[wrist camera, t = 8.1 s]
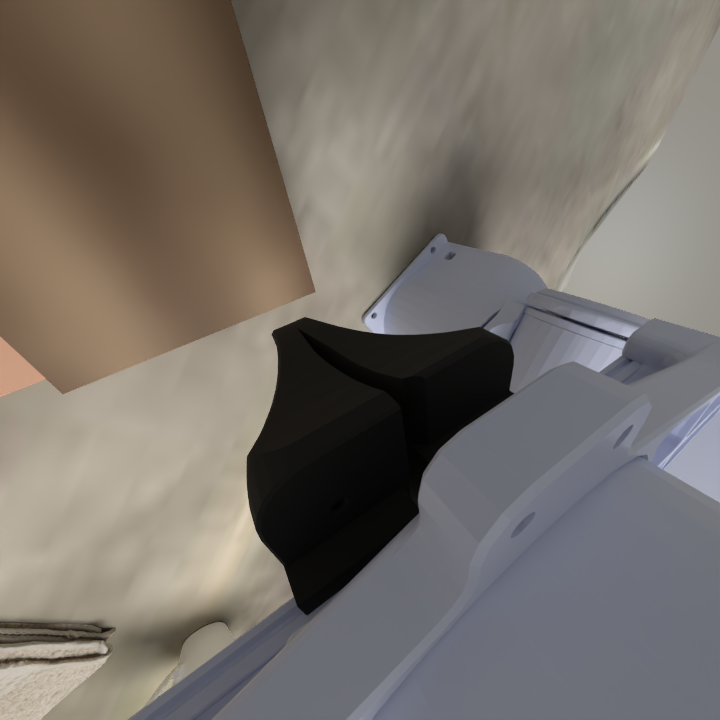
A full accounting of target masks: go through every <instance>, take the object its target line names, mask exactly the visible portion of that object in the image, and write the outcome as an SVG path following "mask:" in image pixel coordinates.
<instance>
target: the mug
mask: <svg viewBox="0 0 720 720" xmlns="http://www.w3.org/2000/svg"><path fill="white" fill-rule="evenodd" d="M234 641H235V638H234V637H233V635H232V634H231V632H230V630H229V629H228V627H227V626H226V624H225V623H223V622H216V623H212V624H209V625H206V626H204V627H202V628H200V629H199V630H197V631H196V632H194V633H193V634H192V635H191V636H189V637H188V638H187V639H186V641H185V642H184V644H183V646H182V650H181V654H180V658H179V662H178V666H176V667H175V668H174V669H173V670H172V671H171V673H170V674H169V675H168V676H167V677H166V678H165V680H164V681H163V682H162V683H161V685H160V686H159V687H158V689H157V690H156V691H155V692H154V694H153V695H152V696H151V698H150V699H149V701H148V702H147V703H146V705H145V706H147V705H148V704H149V703H151V702H152V701H154V700H155V699H156V698H158V697H159V696H160V694H161V693H162V691H163V690H164V688H165V687H166V686H167V684H168V683H169V681H170V680H171V679H174V681H173V685H172V687H173V686H174V685H175V684H177V683H178V682H179V681H181V680H182V679H183V678H185V677H186V676H187V675H189V674H190V673H192V672H193V671H194V670H196V669H197V668H198V667H200V666H201V665H202V664H204V663H205V662H206V661H208V660H209V659H211V658H212V657H213V656H215V655H216V654H217V653H219V652H220V651H221V650H223V649H224V648H225V647H227V646H228V645H230V644H231V643H232V642H234ZM145 706H144V707H145Z"/></svg>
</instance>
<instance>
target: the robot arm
mask: <svg viewBox="0 0 720 720" xmlns="http://www.w3.org/2000/svg"><path fill="white" fill-rule="evenodd" d="M431 248H432V251H431ZM545 310H546V311H545ZM548 311H549V312H548ZM373 313H374V315H373V316H372V317H371V315H372V314H373ZM559 315H560V316H559ZM362 322H363V323H364V324H365V326H366V327H367V328H368V329H369V330H370V331H371V332H372V333H369V332H363V331H357V330H352V329H347V328H343V327H339V326H335V325H331V324H327V323H324V322H320V321H317V320H313V319H310V318H305V317H304V318H302V319H300V320H297V321H295V322H293V323H290V324H288V325H286V326H283V327H281V328H279V329H276V330H274V331H273V333H272V336H273V339H274V341H275V343H276V346H277V351H278V377H277V385H276V390H275V394H274V398H273V402H272V406H271V409H270V412H269V414H268V417H267V419H266V422H265V424H264V427H263V429H262V431H261V433H260V435H259V437H258V439H257V440H256V442H255V444H254V446H253V448H252V449H251V451H250V452H249V454H248V456H247V491H248V499H249V506H250V511H251V514H252V518H253V522H254V525H255V529H256V531H257V533H258V535H259V537H260V539H261V541H262V542H263V543H264V544H265V545H266V547H267V548H268V549H269V550H270V551H271V552H272V553H273V554H274V555H275V557H276V558H277V559H278V560H279V561H280V562H281V563H282V564H283V565H284V568H285V571H286V574H287V577H288V580H289V583H290V586H291V589H292V592H293V595H294V597H293V598H292V599H291V600H289V601H288V602H287V603H285V604H284V605H282V606H281V607H280V608H278V609H277V610H276V611H274V612H273V613H272V614H270V615H269V616H268V617H266V618H265V619H263V620H262V621H261V622H259V623H258V624H257V625H255V626H254V627H253V628H251V629H250V630H249V631H247V632H246V633H244V634H243V635H242V636H240V637H239V638H238V639H236V640H235V641H234V642H232V643H231V644H230V645H228V646H227V647H225V648H224V649H223V650H221V651H220V652H219V653H217V654H216V655H215V656H213V657H212V658H211V659H209V660H208V661H206V662H205V663H204V664H202V665H201V666H200V667H198V668H197V669H196V670H194V671H193V672H192V673H190V674H189V675H187V676H186V677H185V678H183V679H182V680H181V681H179V682H178V683H177V684H175V685H174V686H173V687H171V688H170V689H168V690H167V691H166V692H164V693H163V694H162V695H160V696H159V697H158V698H156V699H155V700H154V701H152V702H151V703H149V704H148V705H147V706H145V707H144V708H143V709H141V710H140V711H139V712H137V713H136V714H135V715H133V716H132V717H130V718H129V719H128V720H720V337H718V336H714V335H711V334H708V333H704V332H701V331H697V330H694V329H690V328H687V327H683V326H680V325H676V324H673V323H669V322H666V321H662V320H659V319H656V318H654V319H651V320H650V319H647V318H644V317H641V316H638V315H635V314H632V313H629V312H626V311H623V310H620V309H616V308H613V307H610V306H607V305H604V304H600V303H597V302H594V301H591V300H587V299H584V298H580V297H577V296H574V295H570V294H567V293H563V292H559V291H556V290H552V289H547V286H546V285H545V283H544V282H543V280H542V279H541V277H540V276H539V275H538V274H537V273H536V272H535V271H534V270H532V269H531V268H530V267H528V266H527V265H525V264H524V263H522V262H520V261H518V260H516V259H514V258H512V257H509V256H506V255H502V254H498V253H494V252H489V251H485V250H481V249H477V248H472V247H468V246H464V245H459V244H455V243H451V242H448V240H447V238H446V236H445V235H444V234H441V233H439V234H437V235H436V236H435V237H434V238H433V239H432V241H431V242H430V243H429V244H428V245H427V246H426V247H425V248H424V249H423V251H422V252H421V253H420V254H419V255H418V256H417V257H416V258H415V259H414V261H413V262H412V263H411V264H410V265H409V266H408V267H407V268H406V269H405V270H404V272H403V273H402V274H401V275H400V276H399V277H398V278H397V279H396V280H395V282H394V283H393V284H392V285H391V286H390V287H389V288H388V289H387V290H386V292H385V293H384V294H383V295H382V296H381V297H380V298H379V299H378V300H377V302H376V303H375V304H374V305H373V306H372V307H371V308H370V309H369V310H368V312H367V313H366V314H365V315H364V316H363V319H362ZM620 336H621V337H620ZM623 337H625V338H623Z"/></svg>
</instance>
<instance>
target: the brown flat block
mask: <svg viewBox="0 0 720 720" xmlns="http://www.w3.org/2000/svg"><path fill="white" fill-rule="evenodd" d="M314 292H315V288H314V285H313V281H312V278H311V275H310V271H309V268H308V264H307V261H306V257H305V254H304V250H303V247H302V244H301V240H300V237H299V233H298V230H297V226H296V223H295V220H294V216H293V213H292V209H291V206H290V202H289V199H288V195H287V192H286V189H285V185H284V182H283V178H282V175H281V171H280V168H279V165H278V161H277V158H276V154H275V151H274V147H273V144H272V140H271V137H270V134H269V130H268V127H267V123H266V120H265V116H264V113H263V110H262V106H261V103H260V99H259V96H258V92H257V89H256V85H255V82H254V79H253V75H252V72H251V68H250V65H249V61H248V58H247V55H246V51H245V48H244V44H243V41H242V37H241V34H240V30H239V27H238V24H237V20H236V17H235V13H234V10H233V6H232V3H231V0H0V337H1V338H2V339H4V340H5V341H6V342H7V343H8V344H9V345H10V346H11V347H12V348H13V349H14V350H15V351H17V352H18V353H19V354H20V355H21V356H22V357H23V358H24V359H25V360H26V361H27V362H28V363H30V364H31V365H32V366H33V367H34V368H35V369H36V370H37V371H38V372H39V373H40V374H42V375H43V376H44V377H45V378H46V379H47V380H48V381H49V382H50V383H51V384H52V385H53V386H55V387H56V388H57V389H58V390H59V391H60V392H61V393H62V394H64V393H67V392H69V391H72V390H74V389H77V388H79V387H82V386H84V385H87V384H89V383H92V382H94V381H96V380H99V379H101V378H104V377H106V376H109V375H111V374H114V373H116V372H119V371H121V370H124V369H126V368H129V367H131V366H134V365H136V364H138V363H141V362H143V361H146V360H148V359H151V358H153V357H156V356H158V355H161V354H163V353H166V352H168V351H171V350H173V349H175V348H178V347H180V346H183V345H185V344H188V343H190V342H193V341H195V340H198V339H200V338H203V337H205V336H208V335H210V334H213V333H215V332H217V331H220V330H222V329H225V328H227V327H230V326H232V325H235V324H237V323H240V322H242V321H245V320H247V319H250V318H252V317H255V316H257V315H259V314H262V313H264V312H267V311H269V310H272V309H274V308H277V307H279V306H282V305H284V304H287V303H289V302H292V301H294V300H297V299H299V298H301V297H304V296H306V295H309V294H311V293H314Z"/></svg>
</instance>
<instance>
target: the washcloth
mask: <svg viewBox="0 0 720 720" xmlns="http://www.w3.org/2000/svg"><path fill="white" fill-rule="evenodd" d="M115 630H116V628H112V629H110V630H107V631H103V632H101V628H99V627H96V626H93V625H86V624H27V623H2V622H0V720H41V719H42V718H43V716H44V715H45V714H47V713H48V712H49V711H50V710H51V709H52V708H53V707H54V706H56V705H57V704H58V703H59V702H60V701H61V700H62V699H63V698H65V697H66V696H67V695H68V694H69V693H70V692H71V691H72V690H73V689H75V688H76V687H77V686H78V685H80V684H81V683H82V682H83V681H84V680H86V679H88V678H89V676H90V675H92V674H93V673H94V672H96V670H97V669H98V668H100V667H101V666H102V664H104V663H105V662H107V658H108V657H109V656H110V655H111V653H112V652H113V646H112V645H110V644H109V643H107V642H106V641H108V640H109V638H110V637H111V636H112V635H113V634H114V633H115Z"/></svg>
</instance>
